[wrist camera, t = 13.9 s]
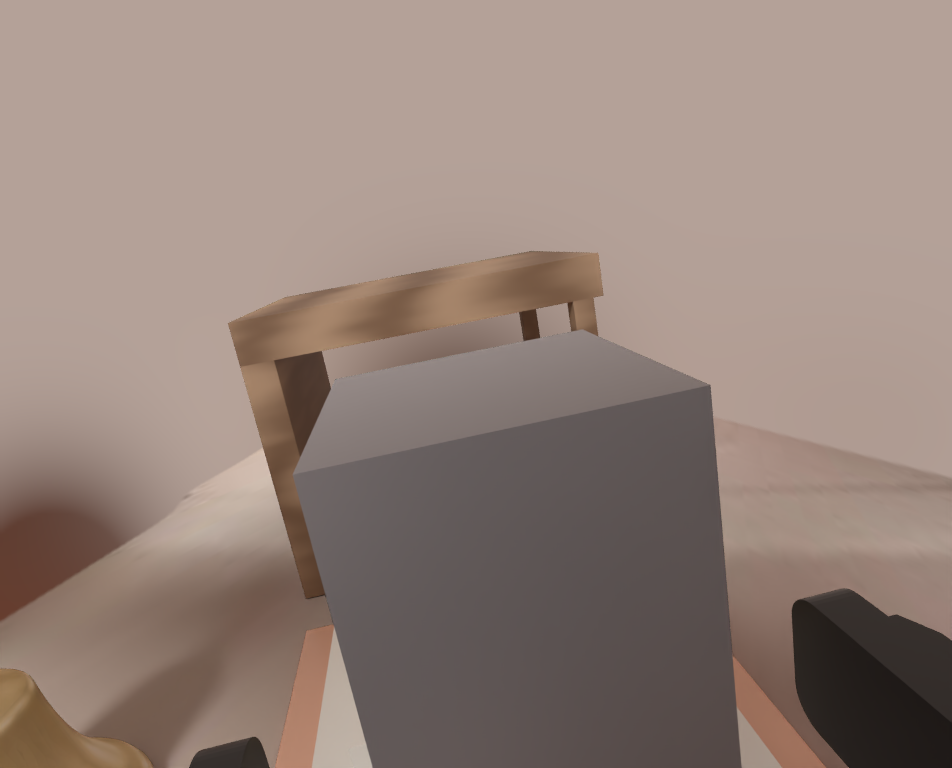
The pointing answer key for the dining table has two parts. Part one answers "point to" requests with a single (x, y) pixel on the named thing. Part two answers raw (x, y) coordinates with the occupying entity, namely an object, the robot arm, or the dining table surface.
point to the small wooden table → (373, 318)
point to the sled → (523, 565)
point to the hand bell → (51, 733)
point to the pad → (311, 677)
